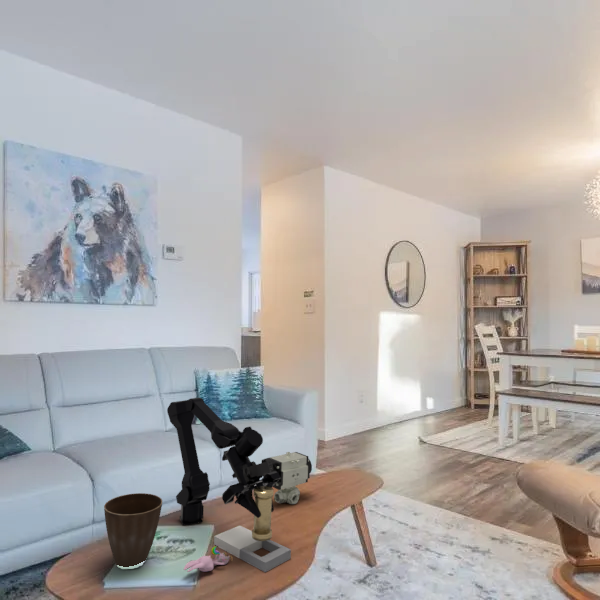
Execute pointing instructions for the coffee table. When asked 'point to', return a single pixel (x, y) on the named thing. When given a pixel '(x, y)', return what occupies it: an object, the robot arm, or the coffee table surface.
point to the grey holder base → (252, 548)
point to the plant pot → (132, 526)
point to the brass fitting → (263, 513)
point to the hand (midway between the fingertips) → (266, 514)
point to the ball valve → (290, 475)
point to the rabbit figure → (208, 561)
